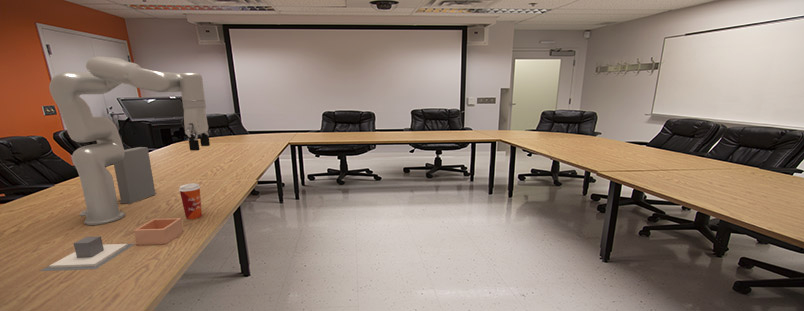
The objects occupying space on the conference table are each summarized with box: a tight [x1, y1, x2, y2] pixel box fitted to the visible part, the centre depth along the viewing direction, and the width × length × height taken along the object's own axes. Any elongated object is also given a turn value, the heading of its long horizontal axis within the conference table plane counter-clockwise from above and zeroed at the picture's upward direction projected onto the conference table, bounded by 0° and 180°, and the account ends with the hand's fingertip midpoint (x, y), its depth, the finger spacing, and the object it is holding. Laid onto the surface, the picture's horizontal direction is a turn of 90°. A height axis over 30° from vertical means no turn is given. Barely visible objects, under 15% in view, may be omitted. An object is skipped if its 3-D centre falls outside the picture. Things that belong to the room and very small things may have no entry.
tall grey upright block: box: [113, 146, 157, 205], centre depth 158 cm, size 14×6×25 cm, turn 172°
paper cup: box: [178, 182, 203, 220], centre depth 136 cm, size 8×8×14 cm
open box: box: [133, 217, 185, 246], centre depth 116 cm, size 10×10×6 cm
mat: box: [39, 243, 136, 272], centre depth 104 cm, size 16×16×1 cm
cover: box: [48, 235, 128, 268], centre depth 104 cm, size 13×13×6 cm
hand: (200, 148), depth 130 cm, fingers open, 9 cm apart
